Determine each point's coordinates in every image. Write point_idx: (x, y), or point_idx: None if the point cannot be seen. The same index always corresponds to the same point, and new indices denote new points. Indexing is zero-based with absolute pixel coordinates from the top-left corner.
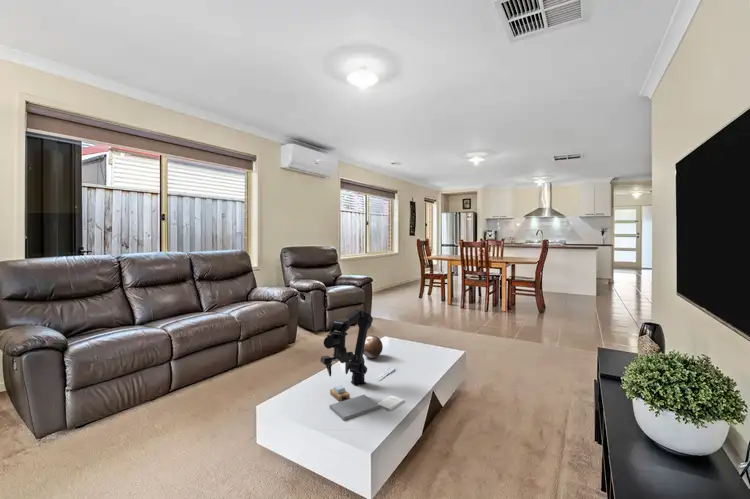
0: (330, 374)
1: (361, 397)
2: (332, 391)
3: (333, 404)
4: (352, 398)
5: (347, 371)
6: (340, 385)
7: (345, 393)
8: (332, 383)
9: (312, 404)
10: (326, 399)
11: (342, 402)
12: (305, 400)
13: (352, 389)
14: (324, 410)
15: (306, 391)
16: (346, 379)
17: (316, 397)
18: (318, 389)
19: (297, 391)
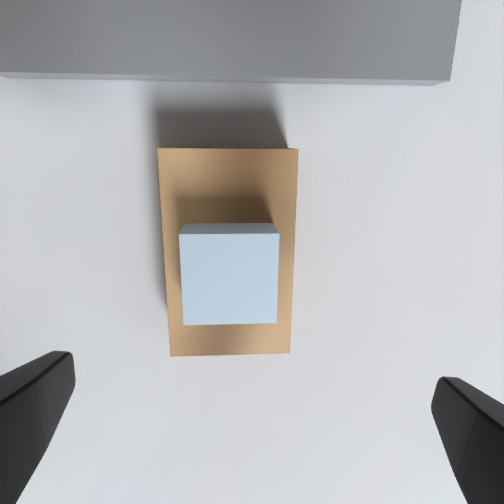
0: (491, 402)
1: (53, 18)
2: (291, 304)
3: (411, 65)
4: (163, 65)
5: (15, 380)
6: (194, 320)
7: (200, 174)
8: (164, 489)
9: (499, 245)
10: (357, 261)
11: (308, 47)
12: (497, 338)
13: (50, 309)
14: (492, 72)
15: (405, 463)
16: (18, 501)
17: (402, 339)
18: (313, 451)
19: (454, 491)
